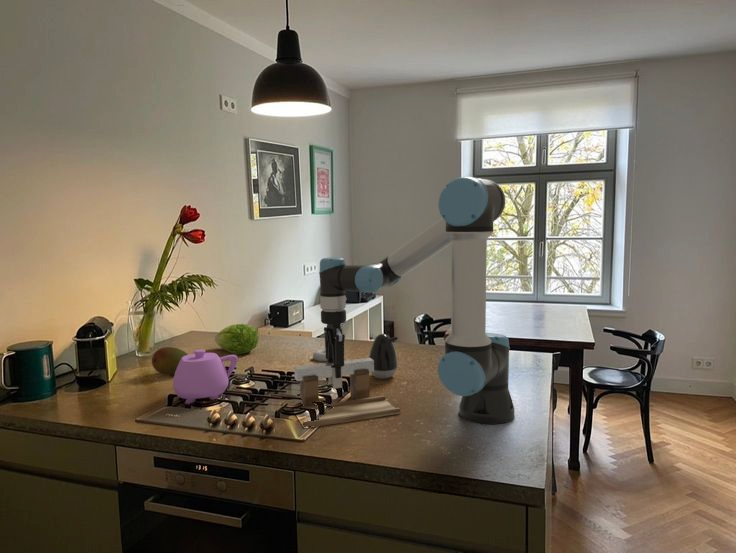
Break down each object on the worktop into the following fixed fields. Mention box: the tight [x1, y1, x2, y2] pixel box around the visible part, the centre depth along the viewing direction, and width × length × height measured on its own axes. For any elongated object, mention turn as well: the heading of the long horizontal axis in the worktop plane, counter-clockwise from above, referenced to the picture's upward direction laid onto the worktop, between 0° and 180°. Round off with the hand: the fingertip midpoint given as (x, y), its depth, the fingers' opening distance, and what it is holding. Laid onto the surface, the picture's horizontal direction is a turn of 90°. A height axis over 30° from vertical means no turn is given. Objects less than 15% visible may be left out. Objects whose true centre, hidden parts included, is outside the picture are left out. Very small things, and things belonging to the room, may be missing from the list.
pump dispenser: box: [368, 333, 399, 380], centre depth 183 cm, size 10×10×15 cm
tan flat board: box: [301, 395, 401, 427], centre depth 149 cm, size 12×28×1 cm, turn 111°
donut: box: [312, 348, 328, 363], centre depth 208 cm, size 10×3×10 cm
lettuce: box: [214, 323, 259, 355], centre depth 221 cm, size 13×22×14 cm
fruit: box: [151, 346, 189, 375], centre depth 190 cm, size 12×12×10 cm
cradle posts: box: [299, 370, 371, 407], centre depth 159 cm, size 6×20×9 cm, turn 111°
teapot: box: [172, 348, 239, 405], centre depth 167 cm, size 20×20×15 cm
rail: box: [293, 357, 374, 382], centre depth 158 cm, size 4×24×4 cm, turn 111°
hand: (335, 385), depth 159 cm, fingers closed on rail, 3 cm apart
